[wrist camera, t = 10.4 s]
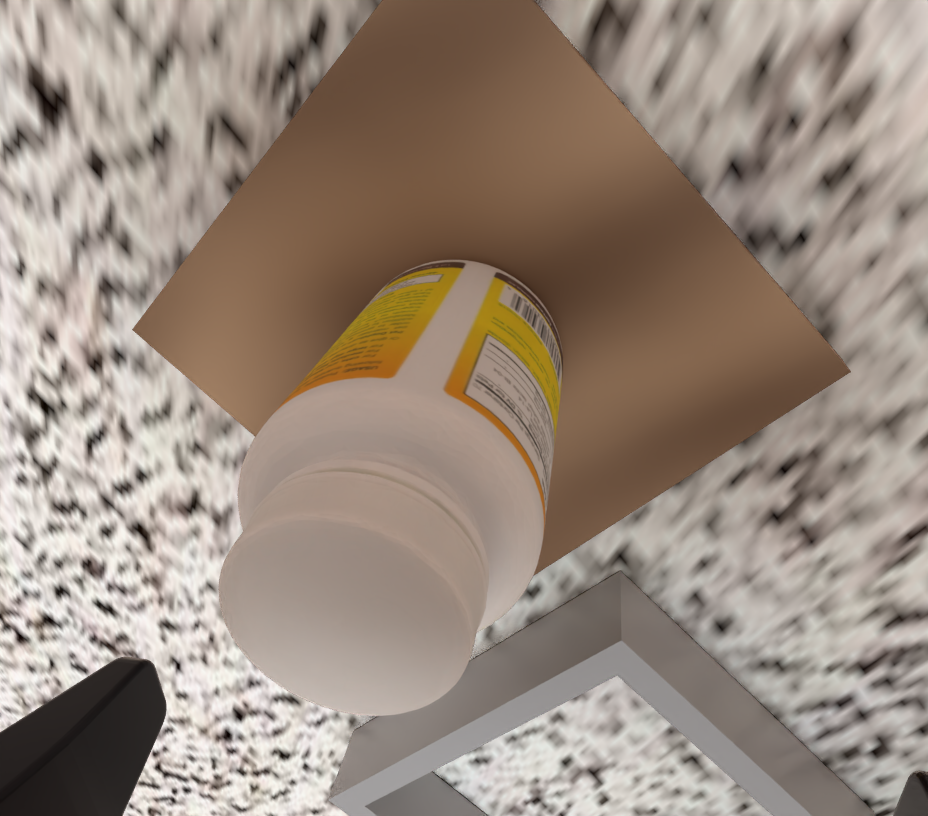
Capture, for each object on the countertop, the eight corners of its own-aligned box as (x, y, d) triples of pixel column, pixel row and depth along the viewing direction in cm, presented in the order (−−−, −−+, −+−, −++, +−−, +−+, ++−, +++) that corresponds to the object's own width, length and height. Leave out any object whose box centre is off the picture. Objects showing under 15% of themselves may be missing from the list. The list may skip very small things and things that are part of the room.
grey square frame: (873, 811, 26) (902, 899, 23) (581, 909, 32) (579, 987, 29) (620, 570, 23) (621, 640, 20) (353, 731, 29) (328, 799, 26)
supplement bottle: (345, 399, 21) (145, 675, 12) (395, 220, 18) (184, 405, 9) (522, 468, 21) (457, 796, 12) (600, 299, 18) (591, 562, 9)
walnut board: (841, 358, 18) (851, 371, 18) (470, 602, 25) (465, 619, 24) (459, -87, 15) (452, -93, 15) (147, 320, 22) (132, 329, 21)
